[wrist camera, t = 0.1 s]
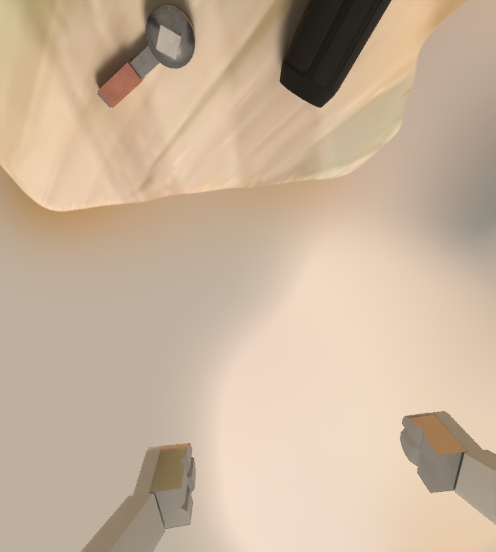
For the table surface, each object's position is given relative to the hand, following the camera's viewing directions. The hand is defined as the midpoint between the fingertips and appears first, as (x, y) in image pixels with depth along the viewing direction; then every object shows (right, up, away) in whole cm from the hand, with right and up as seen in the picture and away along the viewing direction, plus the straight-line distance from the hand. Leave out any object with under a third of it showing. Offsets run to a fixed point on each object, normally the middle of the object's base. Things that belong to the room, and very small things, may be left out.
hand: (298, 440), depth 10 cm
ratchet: (-19, +41, +33) cm, 56 cm away
